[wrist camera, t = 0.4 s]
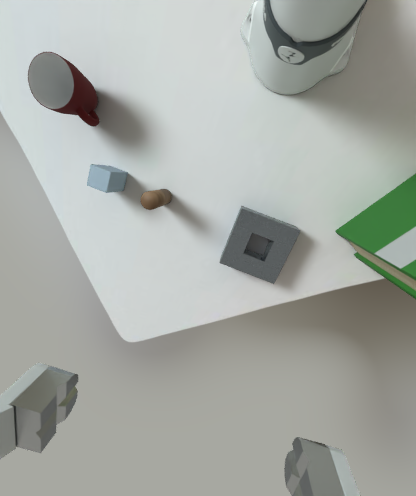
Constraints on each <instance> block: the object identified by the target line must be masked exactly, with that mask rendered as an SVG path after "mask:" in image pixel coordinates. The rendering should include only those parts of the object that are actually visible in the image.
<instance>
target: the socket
mask: <svg viewBox="0 0 416 496" xmlns="http://www.w3.org/2000/svg"><path fill="white" fill-rule="evenodd" d="M252 233H254V234H257V235H259V236H262V237H264V238H267V239H270V241H269V243H268V245H267V247H266V250H265V252H264V254H263V255H260V254H258V253H255V252H252V251H250V250H247V249H245V248H246V246H247V243H248V241H249V239H250V237H251V234H252ZM299 233H300V230H299V229H298V228H297V227H296V226H293V225H290V224H288V223H285V222H283V221H280V220H277V219H275V218H272V217H270V216H267V215H264V214H262V213H259V212H256V211H254V210H251V209H249V208H246V207H243V206H241V209H240V211H239V213H238V216H237V218H236V221H235V223H234V226H233V228H232V231H231V233H230V236H229V238H228V241H227V243H226V246H225V248H224V251H223V253H222V256H221V259H220V263H221V264H224V265H227V266H229V267H232V268H234V269H237V270H240V271H242V272H245V273H247V274H250V275H252V276H255V277H258V278H260V279H263V280H265V281H268V282H270V283H273V284H274V283H275V281H276V279H277V277H278V275H279V273H280V271H281V269H282V267H283V265H284V263H285V261H286V259H287V257H288V255H289V253H290V251H291V249H292V247H293V245H294V243H295V241H296V239H297V237H298V235H299Z"/></svg>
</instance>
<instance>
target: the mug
mask: <svg viewBox="0 0 416 496" xmlns="http://www.w3.org/2000/svg"><path fill="white" fill-rule="evenodd" d="M28 82H29V86H30V89H31V92H32V94H33V96H34V97H35V99H36V100H37V101H38V102H39V103H40V104H41V105H43V106H44V107H46V108H48V109H51V110H53V111H56V112H59V113H63V114H72V115H78V116H79V117H80V118H81V119H82V120H83V121H84V122H86V123H87V124H88V125H90V126H97V125H98V124H99V118H98V116H97V114H96V113H95V112H94V110H95V108H96V107H97V104H98V98H97V94H96V91H95V89H94V87H93V85H92V84H91V83H90V81H89V80H88V79H87V78H86V77H85V76H84V75H83V74H82V73H81V72H80V71H79V70H78V69H77V68H76V67H75V66H74V65H73V64H71V63H70V62H69V61H67V60H66V59H64V58H63V57H61V56H59V55H58V54H55V53H52V52H43V53H40V54H38V55H37V56H36V57H35V58H34V59H33V60H32V62H31V64H30V66H29V70H28ZM88 114H89V115H88Z"/></svg>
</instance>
